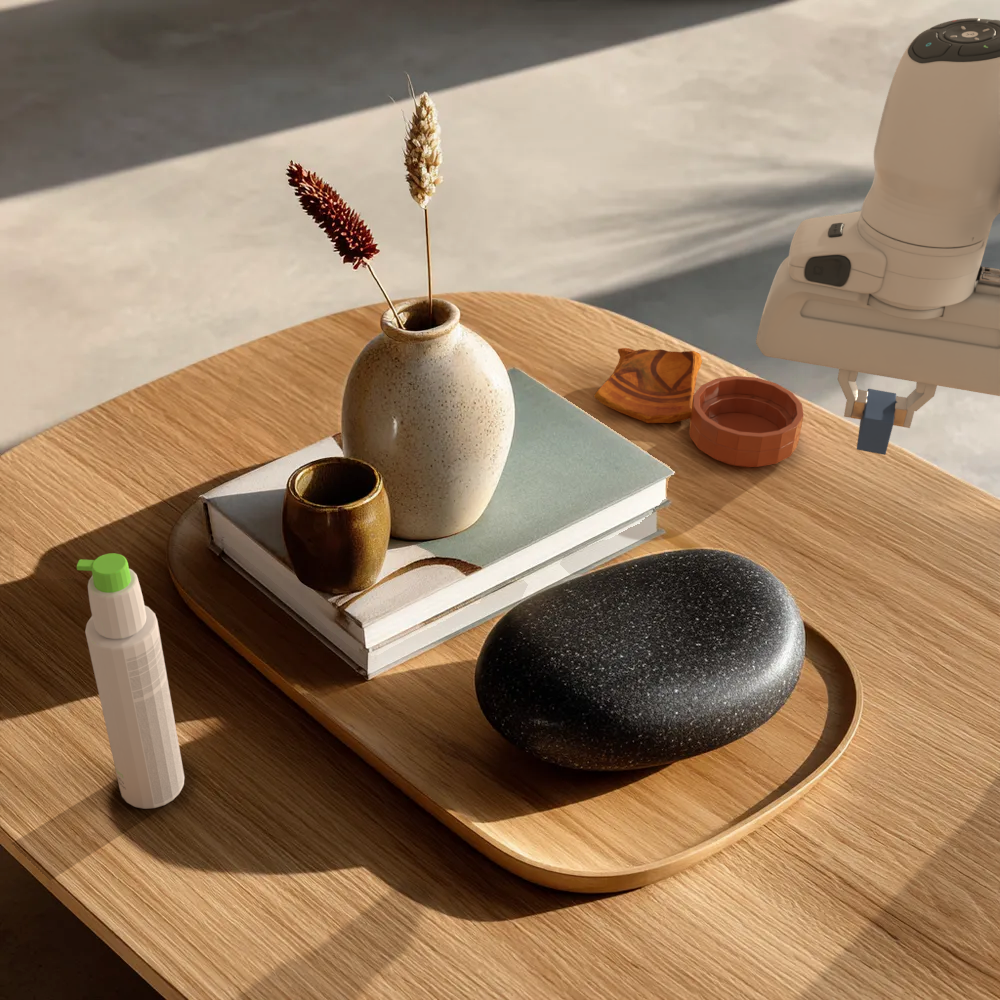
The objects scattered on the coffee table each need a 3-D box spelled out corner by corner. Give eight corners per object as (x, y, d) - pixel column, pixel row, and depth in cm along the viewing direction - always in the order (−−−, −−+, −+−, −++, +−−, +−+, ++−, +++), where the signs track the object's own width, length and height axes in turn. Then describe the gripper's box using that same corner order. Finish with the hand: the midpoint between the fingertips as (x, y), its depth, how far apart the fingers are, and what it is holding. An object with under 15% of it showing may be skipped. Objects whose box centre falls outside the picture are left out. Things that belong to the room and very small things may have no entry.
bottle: (144, 752, 94) (100, 533, 82) (197, 772, 93) (160, 552, 81) (107, 797, 91) (56, 575, 79) (161, 817, 90) (118, 595, 78)
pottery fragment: (703, 348, 135) (699, 385, 126) (699, 390, 137) (695, 429, 128) (604, 339, 136) (593, 375, 127) (601, 381, 138) (591, 419, 129)
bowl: (739, 399, 133) (744, 365, 131) (818, 446, 127) (825, 411, 124) (666, 434, 128) (670, 399, 125) (745, 484, 122) (751, 449, 119)
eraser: (860, 419, 106) (867, 387, 104) (888, 424, 106) (896, 393, 104) (856, 450, 103) (864, 417, 101) (885, 455, 102) (893, 423, 101)
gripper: (1066, 260, 95) (1014, 421, 104) (779, 217, 99) (752, 375, 108) (1070, 301, 90) (1016, 466, 99) (769, 254, 95) (741, 416, 103)
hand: (876, 418), depth 103 cm, fingers closed on eraser, 2 cm apart
